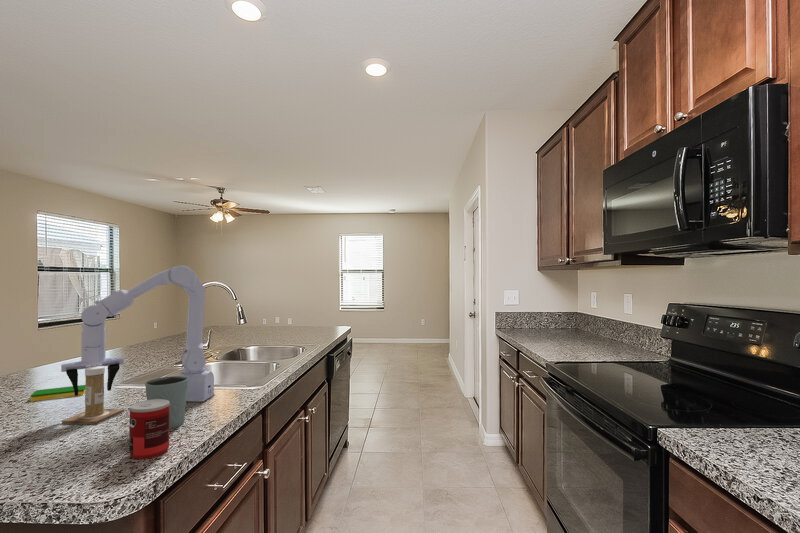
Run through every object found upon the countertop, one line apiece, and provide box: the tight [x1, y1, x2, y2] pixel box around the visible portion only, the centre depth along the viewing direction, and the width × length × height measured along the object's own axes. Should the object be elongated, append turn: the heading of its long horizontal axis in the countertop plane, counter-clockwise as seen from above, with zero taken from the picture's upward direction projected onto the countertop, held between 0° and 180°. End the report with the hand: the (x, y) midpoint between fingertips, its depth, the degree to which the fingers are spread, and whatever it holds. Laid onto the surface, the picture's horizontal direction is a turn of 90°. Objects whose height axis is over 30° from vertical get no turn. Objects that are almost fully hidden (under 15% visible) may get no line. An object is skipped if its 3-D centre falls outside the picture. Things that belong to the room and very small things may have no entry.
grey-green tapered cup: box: [144, 375, 188, 430], centre depth 110 cm, size 10×10×12 cm
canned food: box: [128, 399, 170, 460], centre depth 92 cm, size 8×8×11 cm
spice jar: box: [84, 365, 106, 417], centre depth 115 cm, size 5×5×14 cm
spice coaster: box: [61, 408, 125, 425], centre depth 115 cm, size 10×10×1 cm
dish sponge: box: [29, 384, 85, 402], centre depth 136 cm, size 7×14×2 cm, turn 120°
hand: (93, 392), depth 118 cm, fingers open, 7 cm apart
